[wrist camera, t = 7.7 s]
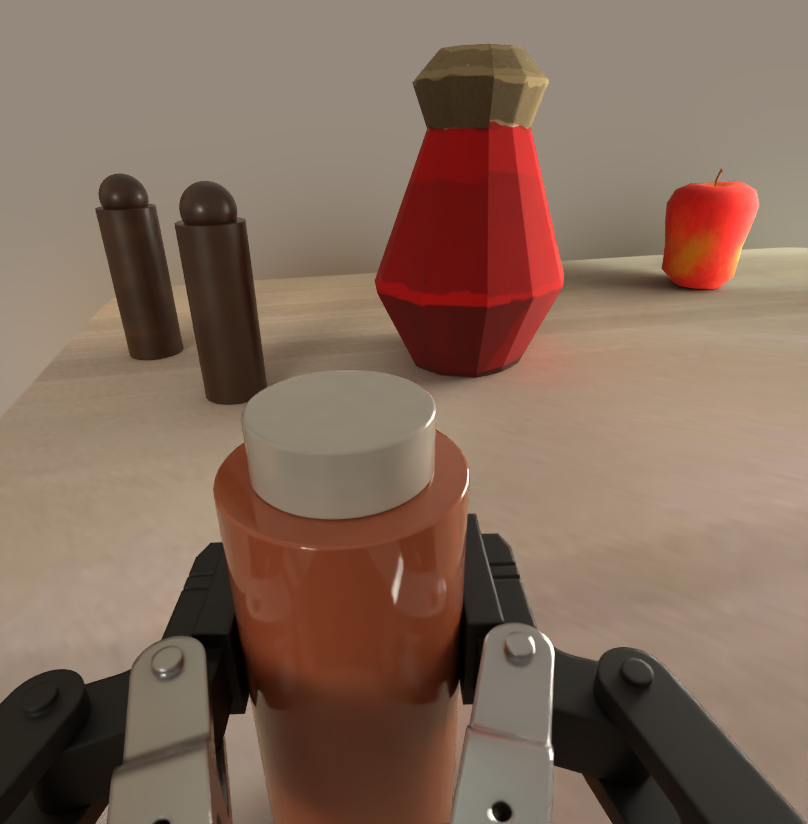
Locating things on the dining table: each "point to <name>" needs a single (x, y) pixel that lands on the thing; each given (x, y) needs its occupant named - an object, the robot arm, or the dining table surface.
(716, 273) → the apple
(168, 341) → the post
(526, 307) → the bottle
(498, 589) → the robot arm
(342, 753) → the shaker
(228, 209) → the post
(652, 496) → the dining table surface
